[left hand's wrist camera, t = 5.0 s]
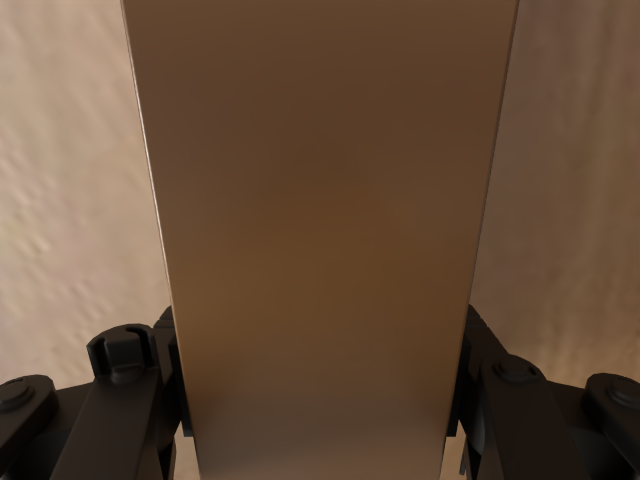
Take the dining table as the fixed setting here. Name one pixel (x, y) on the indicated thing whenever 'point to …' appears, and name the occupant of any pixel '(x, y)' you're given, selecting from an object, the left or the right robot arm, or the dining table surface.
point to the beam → (319, 219)
